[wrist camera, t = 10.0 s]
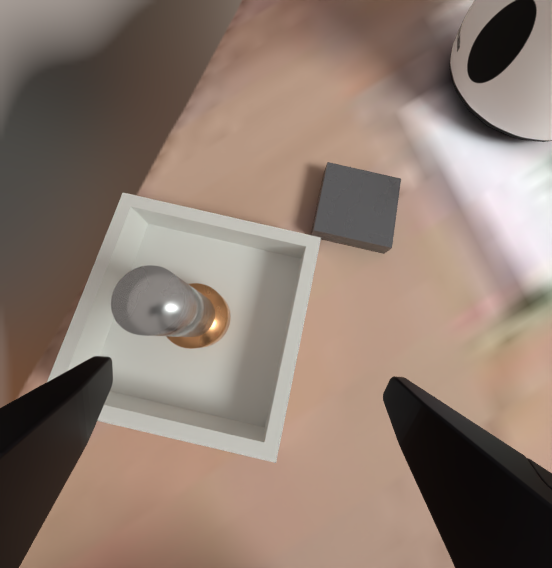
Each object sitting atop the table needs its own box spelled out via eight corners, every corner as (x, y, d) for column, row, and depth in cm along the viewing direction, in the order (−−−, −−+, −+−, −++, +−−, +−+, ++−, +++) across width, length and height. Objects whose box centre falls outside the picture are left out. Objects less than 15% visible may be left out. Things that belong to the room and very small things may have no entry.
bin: (274, 441, 20) (276, 462, 17) (76, 394, 20) (37, 406, 17) (312, 252, 24) (321, 237, 20) (143, 214, 24) (122, 192, 20)
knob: (232, 344, 21) (203, 348, 11) (172, 350, 21) (89, 360, 11) (228, 287, 22) (199, 244, 12) (171, 292, 22) (94, 253, 12)
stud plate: (383, 253, 24) (391, 247, 22) (310, 236, 24) (313, 230, 22) (393, 188, 25) (400, 178, 24) (324, 172, 25) (327, 162, 24)
